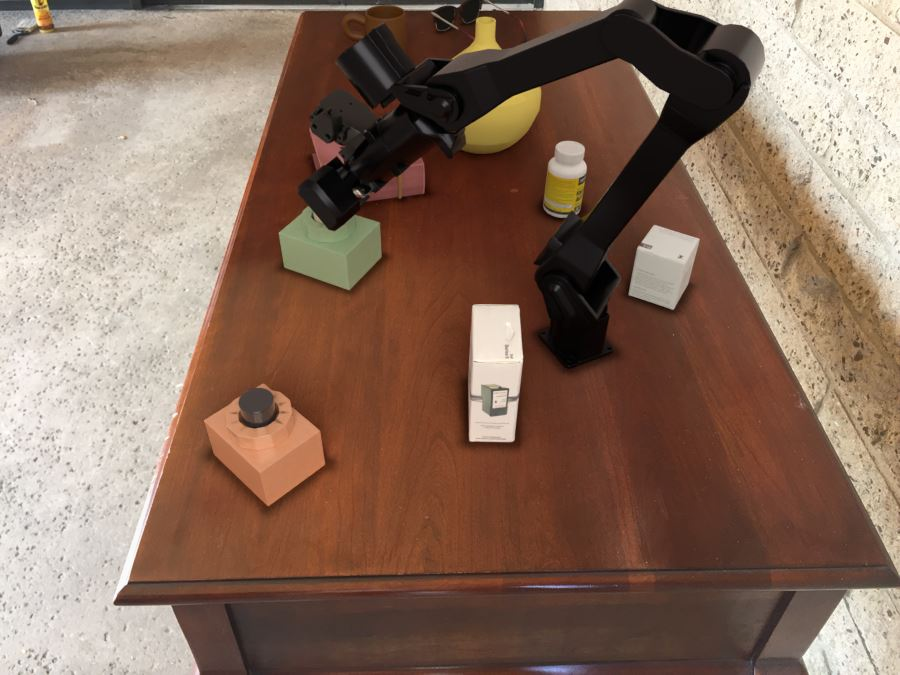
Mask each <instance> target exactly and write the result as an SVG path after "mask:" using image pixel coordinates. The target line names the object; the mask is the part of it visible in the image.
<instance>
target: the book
mask: <svg viewBox="0 0 900 675" xmlns="http://www.w3.org/2000/svg"><path fill="white" fill-rule="evenodd" d="M308 130H309V135H310V138H311V142H312V145H313V148H314V151H315V152H314V153H312V155H311V156H312V160H313V163H314V167H315V171H317V170H318V169H319V168H320V167H322V166H323V165H326V164H327V163H329V162H330V161H331V160H332V159H334V158H335V157H336V156H338V158H339V159H340V160H341V161H342V163H343V164H344V159H343V158H342V157H341V156H340V154H339V153H338V152H339V151H340V150H342V149H343V148H344V147H345V146H341V145H339V144H337V143H336V142H334V141H333V142H332V143H328V144H327V143H325V142H324V141H323V140H321V139H320V138H319V137H317V136H316V135H315V134H313V133H312V131H311V129H310V127H309V128H308ZM425 171H426V170H425V162H424V161H423V158H422V157H421V158H420V159H418V160H417V161H416V162H414V163H413V164H412V165H411V166H410V167H409V168H407V169H406V170H405V171H404V172H403V173H402V174H401V175H399V176H398V177H397V178H396V176H395V177H394V178H393V179H391V180H390V181H389V182H388V183H387V184H386V185H385V186H384V187H383V188H381V189H380V190H379V191H378V192H376V193H374V192H372V193H369V194H368V195H369V196H370V198H369V199H368V200H367V201H366V202H372V201H374V202H375V201H379V200H387V199H394V198H397V199H402V197H409V196H417V195H424V194H425V188H426V173H425Z"/></svg>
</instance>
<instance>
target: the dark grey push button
mask: <svg viewBox="0 0 900 675" xmlns="http://www.w3.org/2000/svg"><path fill="white" fill-rule="evenodd" d="M240 396H241V397H240ZM240 396H239V397H240V398H239V402H238V404H239V408H240V412H241V416H242V420H243V422H244V423H245V424H246V425H247V426H249V427H252V428H261V427H265V426H267V425H269V424H270V423H272V422H273V421H274V419H275V417H276V414H277V413H276V407H275V402H274V397H273V394H272V393H271V392H270V391H269V390H267V389H264V388H256V387H254V388H251V389H248V390H246V391H244V392H243V393H242V394H241V395H240Z"/></svg>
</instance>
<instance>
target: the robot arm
mask: <svg viewBox="0 0 900 675" xmlns="http://www.w3.org/2000/svg"><path fill="white" fill-rule="evenodd" d="M501 49H502V48H501ZM501 49H485V50H480V51H475V52H469V53H464V54H461V55H459V56H458V57H456V58H455V59H452V58H440V57H427V58H425V59H424V60H423V61H421V63H419V64H417V65H416V64H415V63H414V62H413V61H412V59H411V58H410V57H409V55H408V53H407V54H406V53H405V51H404V50H403V49H402V47H401V46H400V45H399V43H398V42H397V40H396V39H395V37H394V35H393V33H392V31H391V30H390V29H389V27H388V26H387V25H386V23H381V24H380V25H378V26H377V27H375V28H373V29H372V30H371V31H370V32H369V33H368V34H367V35H366V36H365V37H363V38H362V39H361V40H360V41H356V43H355V44H353V45H351V46H349V47H348V48H346V49H345V50H344V51H343V52H342V53H341V54H340V55H339V56H338V57H337V58H336V59H335V60H334V64H335V65H336V66H337V67H338V69H339V70H340V71H341V73H342V74H343V75H344V77H346V79H347V80H348V81H349V83H350V84H351V85H352V86H353V88H354V89H355V90H356V92H357V93H358V94H359V95H360V96H361V98H362V99H363V101H364V102H365V103H366V104H367V105H366V104H365V103H364V102H363V101H361V100H360V99H358V98H357V97H356V96H354V95H353V94H352V93H350V92H349V91H348V90H346V89H344V88H336V89H334V90H333V91H332V92H330V93H329V94H328V95H326V96H324V97H323V98H321V99H320V100H319V103H318V106H316V107H315V109H314V111H313V112H311V113H310V114H309V115H308V120H309V121H310V122H311V123H310V125H309V128H310V129H311V131H312V133H313V134H315V135H316V136H317V137H319V138H320V139H321V140H323V141H324V142H325V143H327V144H328V143H332V142H333V141H334V142H336V143H337V144H339V145H341V146H345V147H344V148H343V149H342V150H340V151H339V152H338V153H339V154H340V156H341V157H342V158H343V159H344V164H343V163H342V161H341V160H340V159H339V158H338V156H336V157H335V158H334V159H332V160H331V161H330V162H329V163H327V164H326V165H323V166H322V167H320V168H319V169H318V170H315V171H314V172H313V173H311V174H310V175H308V177H306V178H305V179H304V180H303V181H302V182H301V183H300V184H298V186H296V187H297V194H298V195H299V197H300V198H301V199H302V200H303V201H304V203H305V204H306V205H307V207H308V206H309V207H310V208H311V209H312V211H313V212H314V213H315V214H316V215H317V217H318V218H319V219H320V220H321V221H322V223H323V224H324V225H325V226H326V227H327V228H328V230H331V231H336V230H337V229H339V228H340V227H341V226H343V225H344V224H345V223H346V222H347V221H348V220H350V219H351V218H352V217H353V216H354V215H357V213H358V212H359V211H361V206H363V205H364V204H365V203H366V202H368V201H367V200H368V199H369V198H370V196H369V195H368V194H369V193H372V192H374V193H376V192H378V191H379V190H380V189H381V188H383V187H384V186H385V185H386V184H387V183H388V182H389V181H390V180H391V179H393V178H394V177H395V176H396V178H397V177H398V176H399V175H401V174H402V173H403V172H404V171H405V170H406V169H407V168H409V167H410V166H411V165H412V164H413V163H414V162H416V161H417V160H418V159H420V158H421V159H422V158H423V157H424V156H425V155H427V154H428V153H429V152H430V151H432V150H433V149H434V148H436V147H438V148H439V150H440V151H441V152H442V153H443V155H444V156H445V157H446V159H447V160H450V159H453V157H454V156H456V154H457V153H459V152H460V151H461V150H460V149H461V148H462V147H463V146H465V144H466V137H465V133H464V132H465V127H466V126H468V125H470V124H471V123H473V122H475V121H476V120H478V119H480V118H481V117H483V116H484V115H486V114H487V113H489V112H490V111H492V110H493V109H495V108H496V107H497V106H499V105H500V104H502V103H503V102H505V101H506V100H508V99H510V98H511V97H513V96H515V95H518V94H520V93H523V92H526V91H529V90H532V89H534V88H537V87H540V88H541V87H542V86H546V85H548V84H551V83H553V82H556V81H557V82H558V81H559V80H562V79H565V78H568V77H570V76H574V75H576V74H580V73H582V72H584V71H587V70H590V69H592V68H596V67H598V66H601V65H604V64H606V63H609V62H613V61H615V60H618V59H620V60H621V61H624V62H625V63H627V64H630V65H632V66H633V67H634V68H635V69H636V70H637V71H638V72H639V73H640V74H642V75H643V76H644V77H645V78H646V80H648V81H649V82H650V83H652V84H653V85H654V86H655V87H656V88H658V89H659V90H661V91H663V92H665V93H667V94H668V96H667V98H666V100H665V102H664V105H663V107H662V109H661V112H660V114H659V117H658V119H657V121H656V123H655V124H654V126H653V127H652V128H651V130H650V131H649V132H648V134H647V135H646V136H645V137H644V139H643V140H642V142H641V143H640V145H639V146H638V147H637V149H635V151H634V152H633V154H632V155H631V157H630V158H629V159H628V160H627V162H626V164H625V165H624V166H623V168H622V169H621V171H619V173H618V174H617V175H616V177H615V178H614V180H613V181H612V182H611V183H610V185H609V187H607V189H606V191H605V192H604V193H603V195H601V197H600V199H599V200H598V201H597V203H596V204H595V205H594V207H593V208H592V209H591V210H590V211H589V212H588V213H587V214H585V215H584V216H582V217H580V216H579V214H577V215H576V214H575V213H574V212H573V211H571V212H570V213H569V214H568V216H567V217H566V218H564V220H563V221H562V222H561V224H560V225H559V227H558V228H557V230H556V231H555V232H554V233H553V235H552V236H551V238H550V239H549V240H548V242H547V243H546V244H545V246H544V247H543V248H542V250H541V251H540V253H539V254H538V256H537V257H536V258H535V260H534V261H533V265H535V266H537V268H536V270H535V272H534V276H533V280H534V282H535V283H536V287H537V288H538V290H539V291H540V293H541V294H542V298H543V302H544V305H545V309H546V312H547V315H548V318H549V320H550V322H549V326H550V327H548V328H545V329H542V330H540V331H539V332H538V338H539V339H540V341H542V342H543V343H544V345H545V346H546V347H547V348H548V349H549V350H550V352H551V353H552V354H553V355H554V356H555V357H556V358H557V360H558V361H559V362H560V363H561V364H562V366H563V367H564V368H565V369H573V368H576V367H579V366H581V365H584V364H587V363H589V362H592V361H595V360H598V359H601V358H603V357H607V356H610V355H611V354H613V353H614V347H613V346H612V345H611V344H610V343H609V341H607V339H606V337H607V331H608V328H609V322H610V318H611V315H610V314H609V312H608V309H609V304H608V303H609V301H610V300H611V298H612V296H613V294H614V292H615V291H616V289H617V287H618V286H619V284H620V282H621V280H622V276H621V274H620V273H619V271H618V270H617V269H616V267H615V266H614V265H613V263H611V261H610V259H608V256H609V254H610V252H611V249H612V247H613V244H614V243H615V241H616V239H617V238H618V236H619V235H620V234H621V233H622V232H623V231H624V229H625V228H626V227H627V225H628V224H629V223H630V222H631V220H632V219H633V218H634V217H635V216H636V215H637V213H638V212H639V210H640V209H641V208H642V207H643V206H644V204H645V203H646V202H647V200H648V199H649V198H650V197H651V196H652V194H653V193H654V192H655V191H656V189H657V188H658V187H659V186H660V184H661V183H662V182H663V181H664V179H665V178H666V177H667V176H668V174H669V173H670V172H671V171H672V169H674V167H675V166H676V165H677V163H678V162H679V161H680V160H681V159H682V157H683V156H684V155H685V153H687V151H688V150H689V149H690V148H692V147H693V146H694V145H695V144H697V143H698V142H700V141H702V140H703V139H705V138H706V137H707V136H709V135H711V134H712V133H714V132H715V131H716V130H717V129H718V128H719V127H720V126H722V125H723V124H724V123H725V122H726V121H728V119H730V118H731V117H732V116H733V115H734V114H736V112H738V111H739V110H740V109H741V108H742V107H743V105H744V104H745V103H746V100H747V99H748V97H749V95H750V93H751V92H752V89H753V87H754V85H755V84H756V82H757V80H758V78H759V76H760V74H761V73H762V70H763V69H764V66H765V62H766V52H765V46H764V44H763V42H762V40H761V38H760V36H758V34H757V33H755V31H754V30H753V29H751V28H749V27H747V26H744V25H743V24H735V23H727V24H722V23H720V22H718V21H717V20H716V21H715V20H714V19H711V18H709V17H708V16H705V15H702V14H699V13H695V12H691V11H687V10H682V9H677V8H674V7H669V6H665V5H663V4H661V3H659V2H658V1H655V0H622V1H621V2H620V3H618V4H617V5H613V6H612V7H609V8H607V9H604V10H602V11H600V12H596V13H595V14H592V15H589V16H587V17H585V18H582V19H580V20H577V21H575V22H573V23H569V24H568V25H567V24H566V25H565V26H562V27H560V28H557V29H555V30H553V31H550V32H548V33H546V34H543V35H541V36H537V37H536V38H533V39H530V40H528V42H526V41H525V42H523V43H520V44H518V45H515V46H513V47H509V48H503V49H502V50H501ZM396 100H397V101H398V102H399V104H398V105H397V106H396V107H395V108H393V110H391V111H389V112H385V113H383V114H382V115H381V116H380V117H378V116H377V115H376V114H375V113H374V112H373V110H375V109H376V108H377V107H378V106H380V107H381V108H382V109H383V110H384V109H386V108H387V107H388V106H389V105H390V104H392V103H393V102H394V101H396Z"/></svg>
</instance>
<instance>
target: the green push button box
mask: <svg viewBox="0 0 900 675" xmlns="http://www.w3.org/2000/svg"><path fill="white" fill-rule="evenodd" d="M381 236H382V235H381V222H379V221H377V220H373V219H370V218H366V217H364V216H361V215H357V214H355V215H354V216H353V217H352V218H351V219H350V220H348V221H347V222H346V223H345V224H344V225H343V226H341V227H340V228H339V229H337V230H336V231H331V230H328V228H327V227H326V226H325V225H324V224H322V223H319V222H316V221H315V220H314V214H313V211H312V209H311V208H310V207H309V206H308V205H307V206H306V208H304V209H303V210H302V212H301V213H300V214H299V215H298V216H296V217H295V218H294V219H293V220H292V221H290V223H289V224H287V225H286V226H284V228H282V229H281V230H280V231H279V232H278V239H279V243H280V249H281V255H282V262H283V268H285V269H287V270H290V271H292V272H295V273H298V274H302V275H304V276H307V277H310V278H313V279H315V280H319V281H321V282H324V283H327V284H330V285H333V286H336V287H339V288H341V289H344V290H346V291H351V289H352V288H353V287H354V286H355V285H356V284H357V283H358V282H359V281H360V280H361V279H362V278H363V277H364V276H365V275H366V274H367V273H368V272H369V271H370V270H371V269H372V268H373V267H374V266H375V265H376V263H377V262H378V261H379V260H380V259H382V257H383V256H382V252H383V251H382V237H381Z"/></svg>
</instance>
